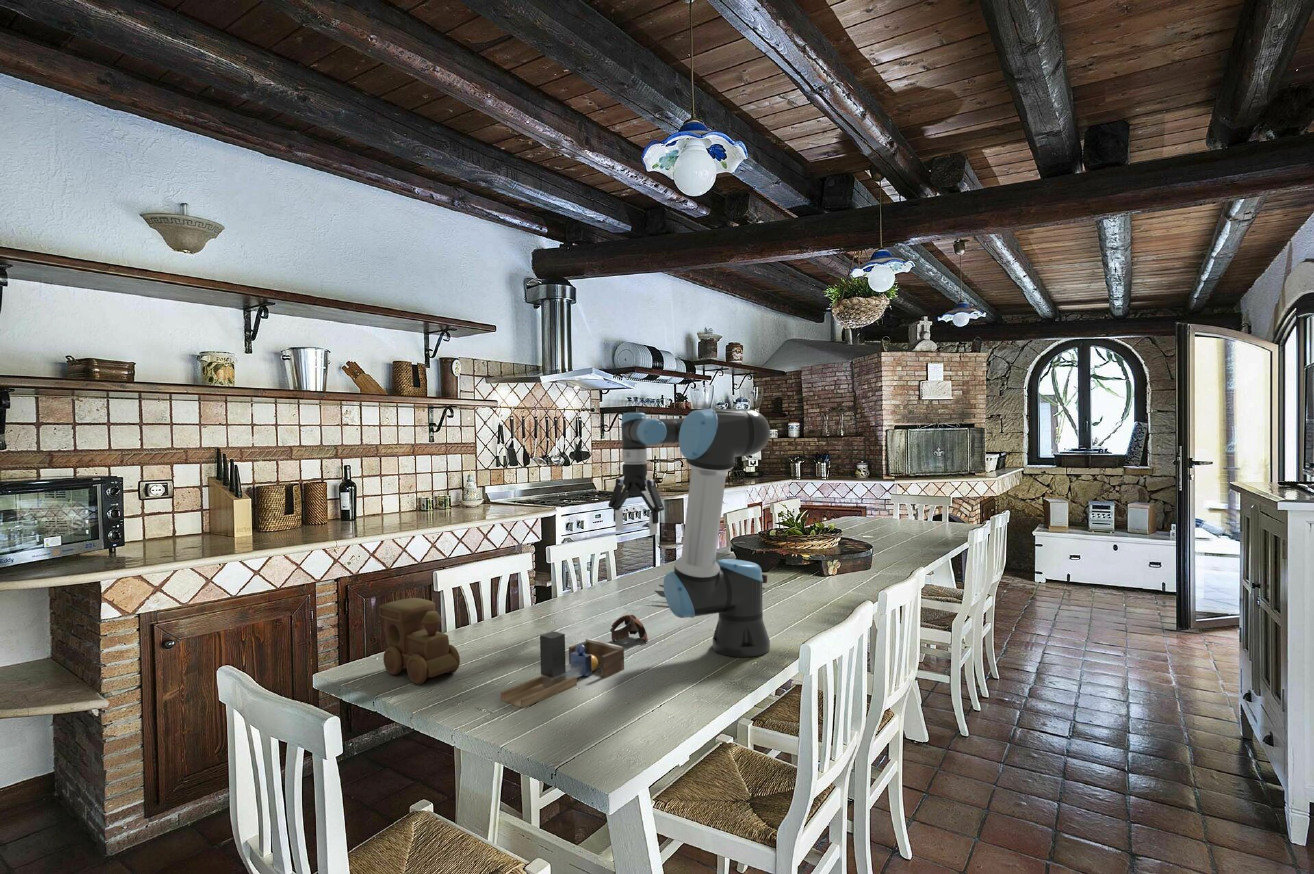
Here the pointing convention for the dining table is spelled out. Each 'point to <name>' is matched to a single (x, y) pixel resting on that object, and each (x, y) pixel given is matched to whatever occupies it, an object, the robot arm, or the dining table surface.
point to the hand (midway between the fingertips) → (636, 532)
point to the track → (534, 691)
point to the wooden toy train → (416, 640)
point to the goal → (603, 655)
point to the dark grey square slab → (561, 660)
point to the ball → (594, 662)
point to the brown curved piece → (628, 628)
